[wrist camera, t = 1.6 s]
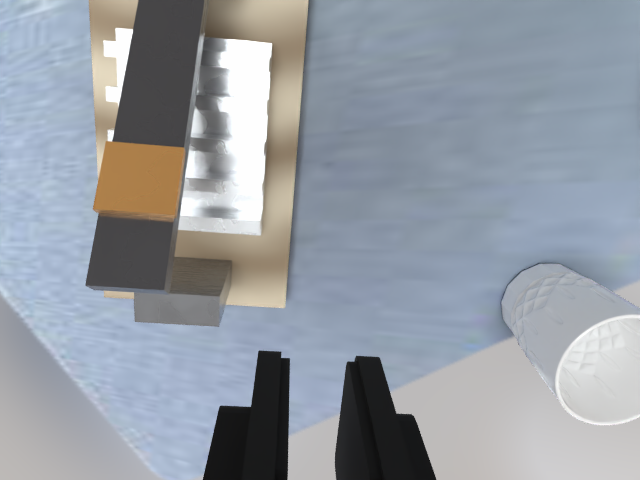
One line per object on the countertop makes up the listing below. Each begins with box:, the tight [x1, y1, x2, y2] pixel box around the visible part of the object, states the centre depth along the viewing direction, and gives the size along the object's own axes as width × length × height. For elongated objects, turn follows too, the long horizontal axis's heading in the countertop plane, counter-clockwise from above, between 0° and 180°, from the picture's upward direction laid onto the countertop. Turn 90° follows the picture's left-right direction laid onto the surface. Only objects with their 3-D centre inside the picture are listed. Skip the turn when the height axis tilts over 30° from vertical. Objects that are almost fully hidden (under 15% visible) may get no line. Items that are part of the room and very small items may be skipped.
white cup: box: [501, 264, 640, 426], centre depth 35 cm, size 8×8×10 cm
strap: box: [86, 0, 209, 295], centre depth 22 cm, size 18×4×2 cm
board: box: [89, 0, 309, 308], centre depth 33 cm, size 24×13×2 cm, turn 175°
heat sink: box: [103, 28, 273, 327], centre depth 29 cm, size 22×9×6 cm, turn 175°
